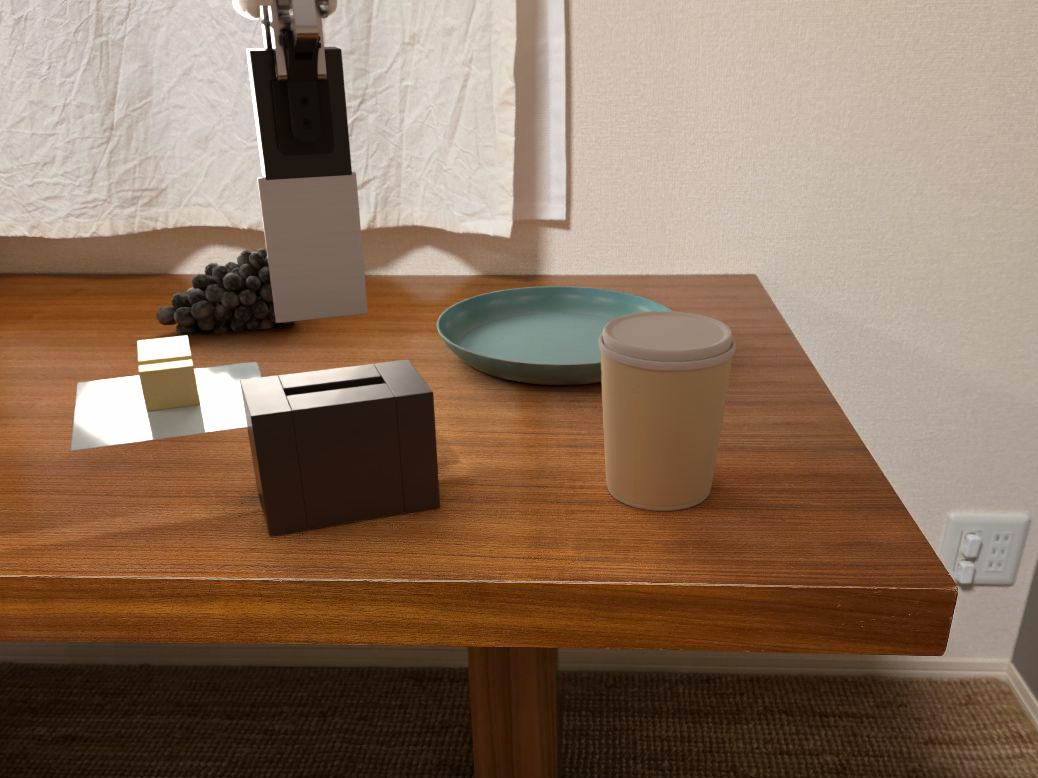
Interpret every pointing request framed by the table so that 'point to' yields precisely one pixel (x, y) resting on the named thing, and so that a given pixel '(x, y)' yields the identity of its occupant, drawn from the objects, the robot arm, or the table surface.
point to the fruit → (225, 298)
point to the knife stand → (342, 445)
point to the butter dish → (123, 417)
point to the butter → (163, 350)
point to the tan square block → (169, 385)
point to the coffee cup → (663, 406)
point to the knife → (309, 207)
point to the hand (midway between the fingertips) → (303, 147)
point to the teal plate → (537, 331)
